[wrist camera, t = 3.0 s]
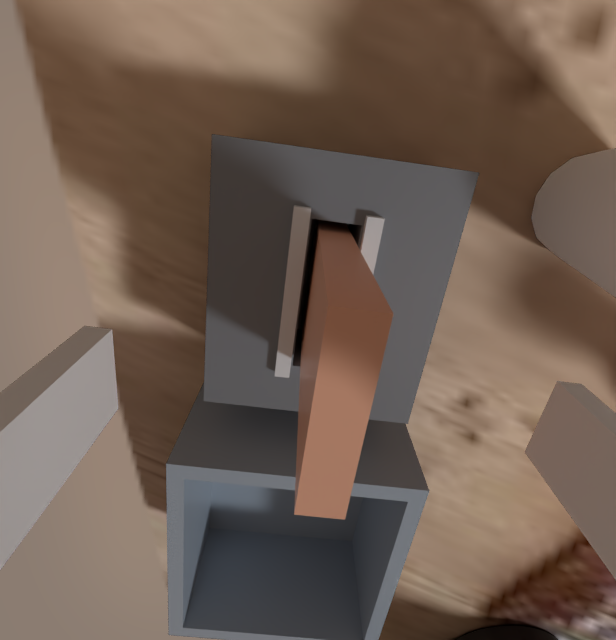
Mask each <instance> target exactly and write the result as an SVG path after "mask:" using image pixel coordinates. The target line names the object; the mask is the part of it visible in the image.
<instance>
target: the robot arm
mask: <svg viewBox="0 0 616 640" xmlns="http://www.w3.org/2000/svg"><path fill="white" fill-rule="evenodd" d="M117 410H118V396H117V383H116V371H115V358H114V346H113V333H112V329H107V328H98V327H90V326H84V327H83V328H81V329H80V330H79V331H78V332H76V333H75V334H74V335H72V336H71V337H70V338H69V339H67V340H66V341H65V342H64V343H62V344H61V345H60V346H59V347H57V348H56V349H55V350H53V351H52V352H51V353H50V354H48V356H46V357H45V358H43V359H42V360H41V361H39V362H38V363H37V364H36V365H35V366H33V367H32V368H31V369H29V370H28V371H27V372H26V373H24V374H23V375H22V376H21V377H19V378H18V379H17V380H16V381H14V382H13V383H12V384H10V385H9V386H8V387H7V388H5V389H4V390H3V391H2V392H0V570H1V569H2V567H3V566H4V565H5V563H6V562H7V560H8V559H9V558H10V556H11V555H12V554H13V552H14V551H15V550H16V548H17V547H18V545H19V544H20V543H21V541H22V540H23V539H24V537H25V536H26V535H27V533H28V532H29V530H30V529H31V528H32V526H33V525H34V524H35V522H36V521H37V520H38V518H39V516H40V515H41V514H42V513H43V511H44V510H45V508H46V507H47V506H48V504H49V503H50V502H51V500H52V499H53V498H54V496H55V495H56V494H57V492H58V491H59V489H60V488H61V487H62V485H63V484H64V483H65V481H66V480H67V478H68V477H69V476H70V474H71V473H72V472H73V470H74V469H75V468H76V466H77V465H78V463H79V462H80V461H81V459H82V458H83V457H84V455H85V454H86V452H87V451H88V450H89V448H90V447H91V445H92V444H93V443H94V441H95V440H96V439H97V437H98V436H99V435H100V433H101V432H102V431H103V429H104V428H105V426H106V425H107V424H108V422H109V421H110V420H111V418H112V417H113V415H114V414H115V413H116V411H117ZM525 453H526V455H527V456H528V457H529V459H530V460H531V462H532V463H533V464H534V466H535V467H536V469H537V470H538V471H539V473H540V474H541V476H542V477H543V478H544V480H545V481H546V483H547V484H548V485H549V487H550V488H551V490H552V491H553V492H554V494H555V495H556V497H557V498H558V499H559V501H560V502H561V504H562V505H563V506H564V508H565V509H566V511H567V512H568V513H569V515H570V516H571V518H572V519H573V520H574V522H575V523H576V525H577V526H578V528H579V529H580V530H581V532H582V533H583V535H584V536H585V537H586V539H587V540H588V542H589V543H590V544H591V546H592V547H593V549H594V550H595V551H596V553H597V554H598V556H599V557H600V558H601V560H602V561H603V563H604V564H605V565H606V567H607V568H608V570H609V571H610V572H611V574H612V575H613V577H614V578H615V579H616V413H615V412H614V411H612V410H611V409H610V408H609V407H608V406H607V405H605V404H604V403H603V402H602V401H601V400H600V399H598V398H597V397H596V396H595V395H594V394H593V393H591V392H590V391H589V390H588V389H587V388H586V387H585V386H583V385H582V384H577V383H569V382H560V381H557V383H556V385H555V387H554V389H553V392H552V394H551V396H550V398H549V400H548V402H547V405H546V407H545V409H544V411H543V413H542V415H541V418H540V420H539V422H538V424H537V426H536V428H535V431H534V433H533V435H532V437H531V439H530V442H529V444H528V446H527V448H526V450H525ZM456 640H558V639H557V638H556V637H554V636H553V635H551V634H549V633H547V632H545V631H542V630H539V629H536V628H531V627H525V626H498V627H491V628H486V629H481V630H478V631H474V632H471V633H469V634H466V635H464V636H462V637H460V638H458V639H456Z"/></svg>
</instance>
